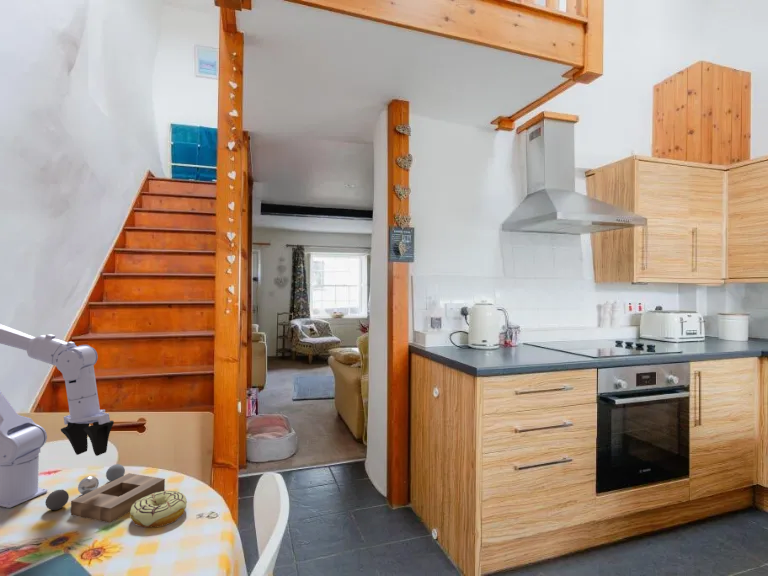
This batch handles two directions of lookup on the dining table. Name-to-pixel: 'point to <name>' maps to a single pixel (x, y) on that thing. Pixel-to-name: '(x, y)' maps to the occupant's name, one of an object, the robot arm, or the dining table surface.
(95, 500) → the hole plate
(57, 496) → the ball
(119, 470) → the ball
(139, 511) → the decorated donut
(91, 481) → the steel ball
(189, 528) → the dining table surface
